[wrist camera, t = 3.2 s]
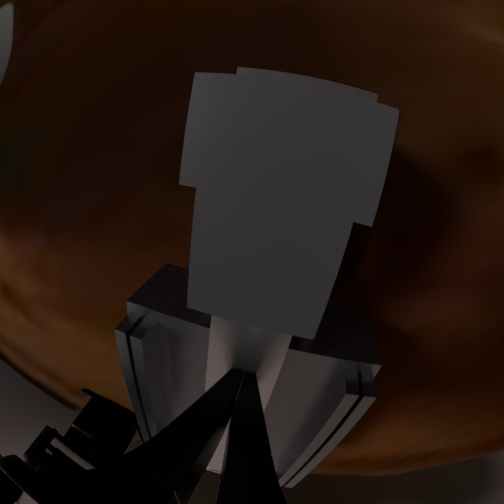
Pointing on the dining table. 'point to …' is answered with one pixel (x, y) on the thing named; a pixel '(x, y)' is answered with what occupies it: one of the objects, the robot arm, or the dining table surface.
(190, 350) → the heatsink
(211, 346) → the light grey flat bar
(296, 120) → the clip
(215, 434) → the robot arm
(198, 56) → the dining table surface
